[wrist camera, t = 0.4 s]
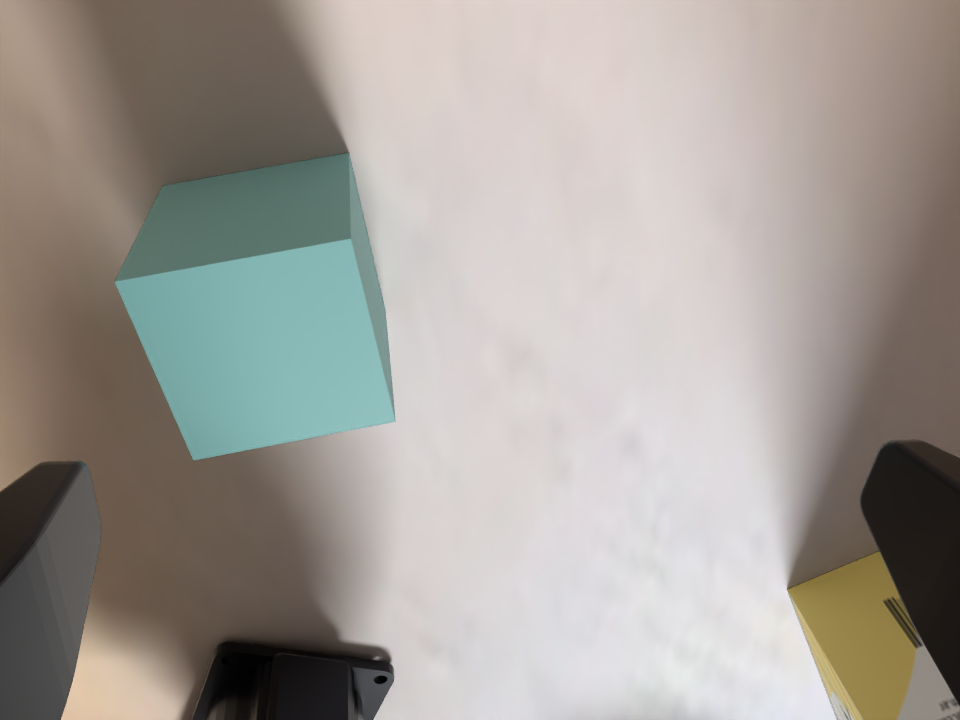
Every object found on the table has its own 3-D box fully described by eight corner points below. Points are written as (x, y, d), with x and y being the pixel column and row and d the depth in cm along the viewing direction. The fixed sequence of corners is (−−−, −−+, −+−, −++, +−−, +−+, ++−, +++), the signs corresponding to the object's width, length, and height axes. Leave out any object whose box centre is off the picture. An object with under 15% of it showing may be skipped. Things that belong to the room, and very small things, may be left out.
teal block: (385, 310, 22) (395, 421, 18) (221, 341, 22) (193, 460, 18) (348, 152, 19) (350, 238, 15) (162, 184, 19) (114, 281, 15)
